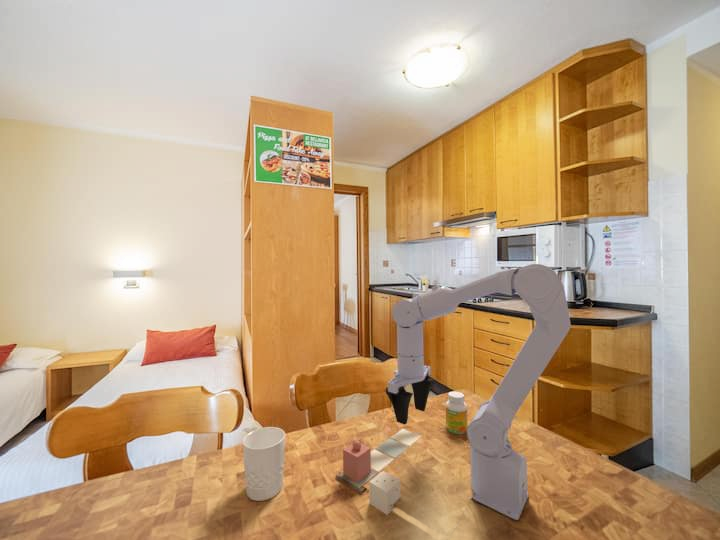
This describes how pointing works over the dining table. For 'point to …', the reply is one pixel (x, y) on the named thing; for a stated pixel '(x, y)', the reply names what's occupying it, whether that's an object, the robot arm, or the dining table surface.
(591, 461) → the dining table surface
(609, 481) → the dining table surface
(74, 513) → the dining table surface
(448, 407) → the supplement bottle
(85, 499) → the dining table surface
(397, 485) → the die
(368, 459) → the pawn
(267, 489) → the white cup
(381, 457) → the track
